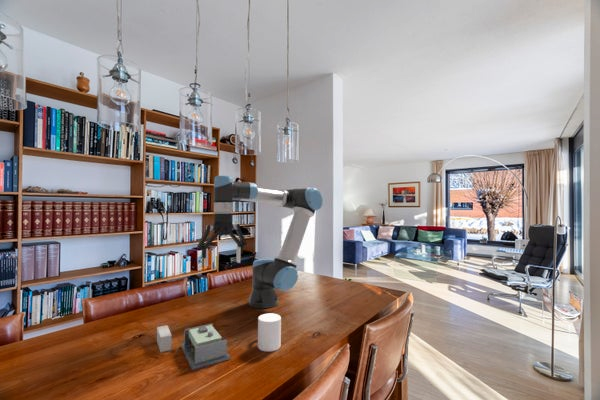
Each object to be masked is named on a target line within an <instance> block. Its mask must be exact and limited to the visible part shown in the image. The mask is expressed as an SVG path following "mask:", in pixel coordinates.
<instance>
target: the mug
mask: <svg viewBox="0 0 600 400" xmlns="http://www.w3.org/2000/svg"><path fill="white" fill-rule="evenodd" d="M281 337H282V317H281V315H280V314H277V313H275V312H274V313H273V312H272V313H271V312H268V313H263V314H260V315H259V316H258V317H257V348H258V349H259V350H260V351H262V352H275V351H278V350H279V349H280V348H281V345H282V343H281V342H282V338H281Z"/></svg>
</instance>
